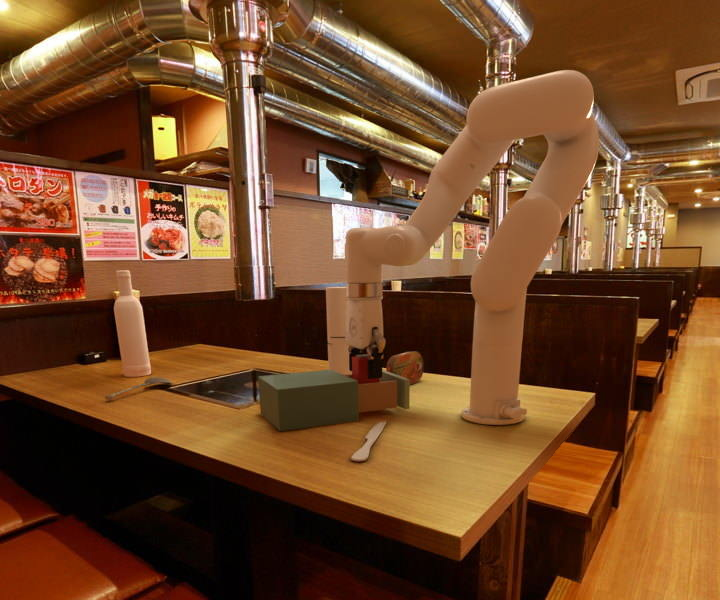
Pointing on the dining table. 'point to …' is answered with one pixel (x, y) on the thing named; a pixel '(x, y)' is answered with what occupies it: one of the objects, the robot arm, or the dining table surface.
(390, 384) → the drawer
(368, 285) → the robot arm
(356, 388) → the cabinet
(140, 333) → the bottle
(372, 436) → the butter knife
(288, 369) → the dining table surface
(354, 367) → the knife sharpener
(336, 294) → the cylindrical container
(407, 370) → the tin
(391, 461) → the dining table surface
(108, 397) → the soupspoon
